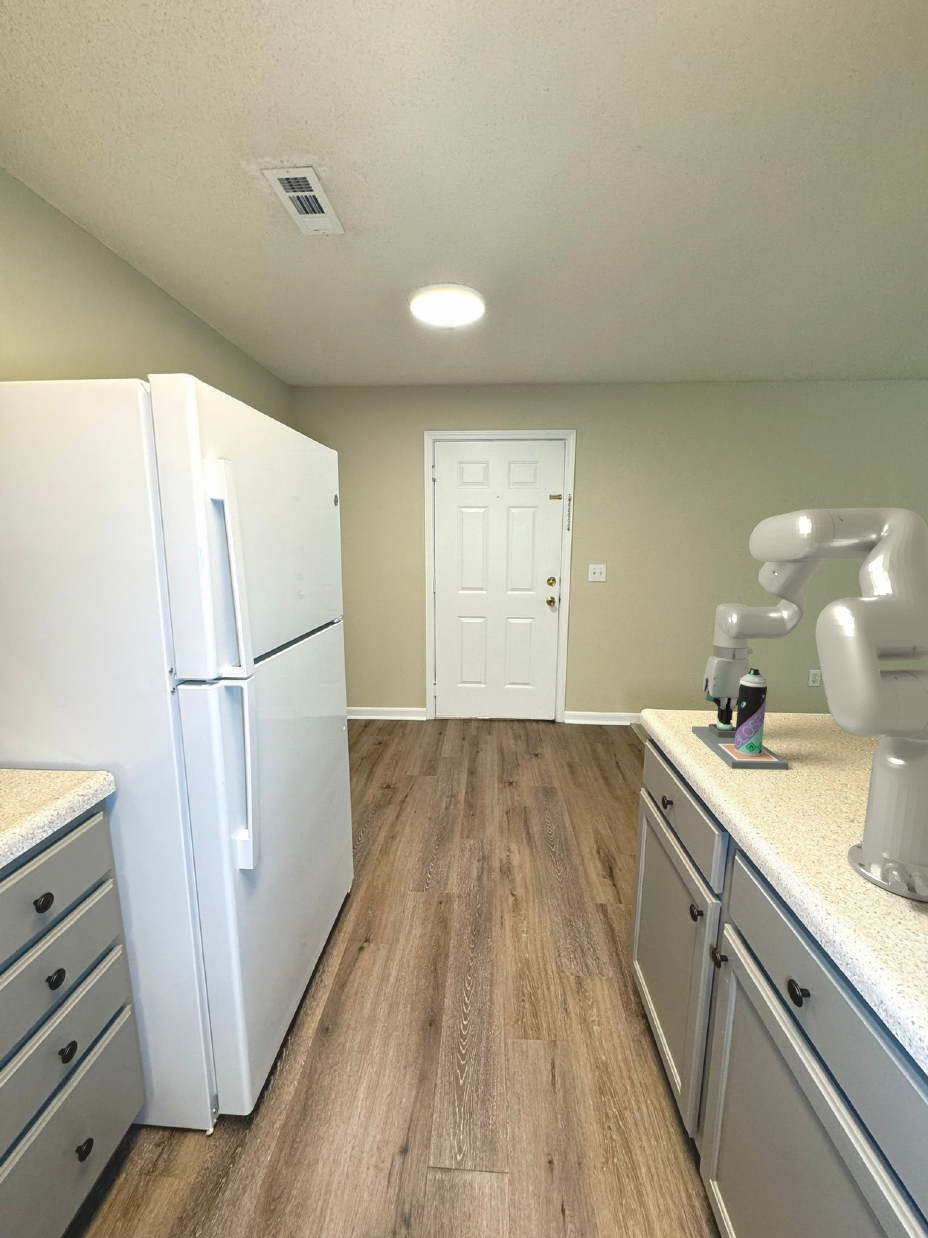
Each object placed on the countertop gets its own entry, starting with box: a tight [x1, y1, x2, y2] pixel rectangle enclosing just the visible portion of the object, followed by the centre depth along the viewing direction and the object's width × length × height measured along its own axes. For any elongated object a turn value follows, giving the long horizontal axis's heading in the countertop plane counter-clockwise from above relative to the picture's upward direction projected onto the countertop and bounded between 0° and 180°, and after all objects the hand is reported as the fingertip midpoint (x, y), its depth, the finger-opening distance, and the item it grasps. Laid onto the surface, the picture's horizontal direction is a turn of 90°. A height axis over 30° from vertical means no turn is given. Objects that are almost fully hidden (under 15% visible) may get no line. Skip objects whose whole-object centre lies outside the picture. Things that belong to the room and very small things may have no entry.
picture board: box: [691, 723, 789, 770], centre depth 120 cm, size 22×12×3 cm, turn 177°
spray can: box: [734, 667, 768, 757], centre depth 113 cm, size 6×6×20 cm
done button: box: [716, 720, 734, 731], centre depth 126 cm, size 4×4×2 cm
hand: (724, 722), depth 126 cm, fingers closed
